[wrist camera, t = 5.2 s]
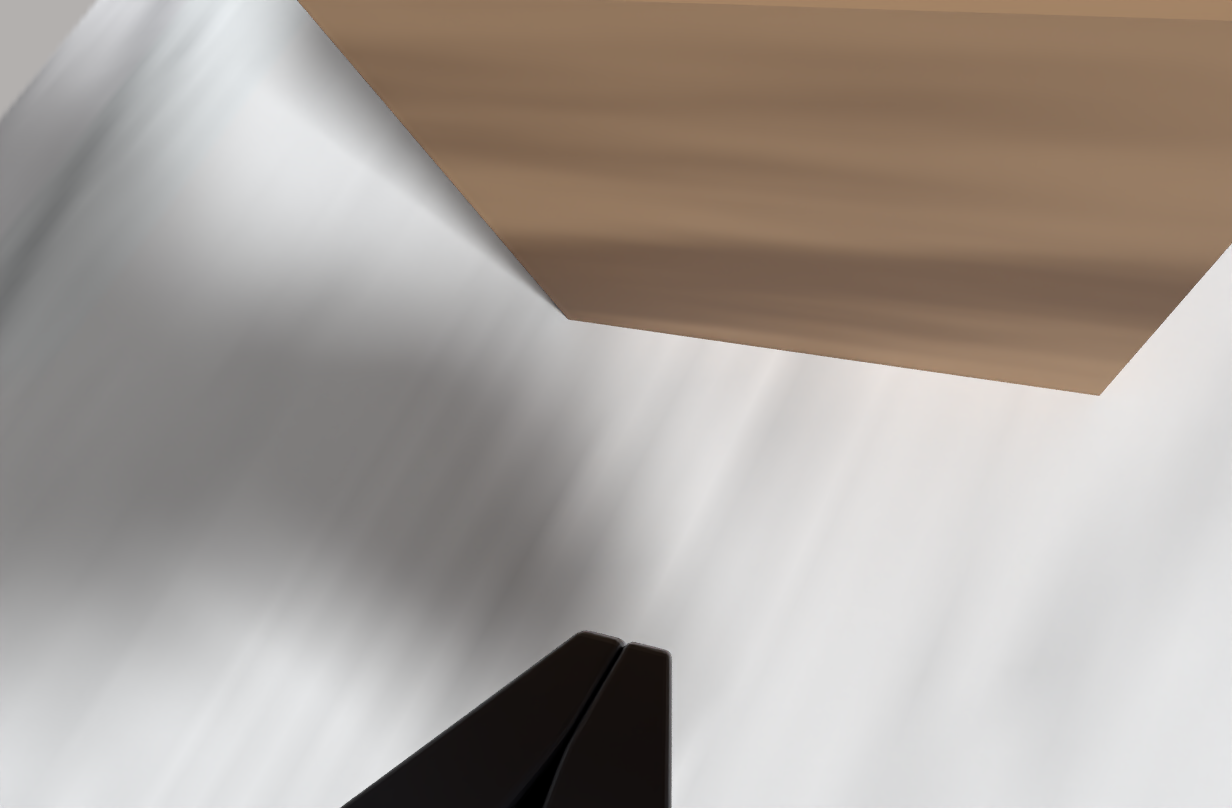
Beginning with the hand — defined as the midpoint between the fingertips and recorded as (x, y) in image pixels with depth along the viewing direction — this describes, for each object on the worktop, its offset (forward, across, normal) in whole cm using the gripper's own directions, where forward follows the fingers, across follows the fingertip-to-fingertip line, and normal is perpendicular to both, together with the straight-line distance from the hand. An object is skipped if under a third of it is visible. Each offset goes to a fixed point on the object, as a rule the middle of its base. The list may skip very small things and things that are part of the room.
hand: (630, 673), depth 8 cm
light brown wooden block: (+12, 0, +1) cm, 12 cm away
